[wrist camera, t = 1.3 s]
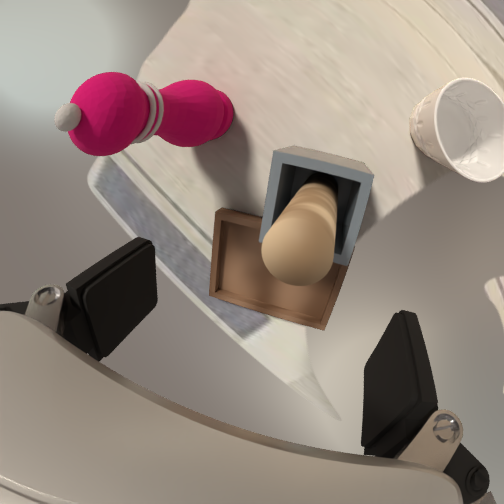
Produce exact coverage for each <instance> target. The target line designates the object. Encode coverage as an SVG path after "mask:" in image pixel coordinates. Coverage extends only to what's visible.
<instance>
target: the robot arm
mask: <svg viewBox="0 0 504 504" xmlns="http://www.w3.org/2000/svg"><path fill="white" fill-rule="evenodd" d="M66 286H67V290H68V291H67V292H66V293H64V290H63V288H62V287H60V286H58V285H54V284H50V285H45V286H42V287H40V288H38V289H37V290H36V291H35V292H34V293H33V294H32V296H31V298H30V301H27V302H18V303H8V304H0V504H496V502H495V500H494V497H493V495H492V493H491V491H490V492H488V493H487V489H488V487H489V474H488V471H487V470H486V468H485V467H484V466H483V465H482V464H481V463H480V462H479V461H478V460H477V459H476V458H475V457H474V456H473V455H472V454H471V453H470V452H469V451H468V450H467V449H466V448H465V447H464V446H463V445H462V444H461V443H460V442H461V440H462V437H463V427H462V423H461V421H460V419H459V418H458V417H457V416H456V415H455V414H454V413H453V412H451V411H449V410H438V406H437V403H438V400H437V395H436V389H435V384H434V380H433V375H432V371H431V366H430V362H429V358H428V354H427V350H426V346H425V342H424V339H423V335H422V332H421V328H420V325H419V322H418V318H417V315H416V314H415V313H412V312H409V311H405V310H401V311H400V312H399V313H395V314H394V315H393V317H392V319H391V321H390V323H389V324H388V326H387V328H386V330H385V332H384V334H383V335H382V337H381V339H380V341H379V343H378V344H377V346H376V348H375V349H374V351H373V353H372V354H371V356H370V358H369V359H368V361H367V363H366V365H365V368H364V400H363V401H364V402H363V422H362V437H361V446H363V447H365V449H364V455H357V454H350V453H343V452H336V451H330V450H326V449H320V448H315V447H309V446H305V445H300V444H296V443H291V442H287V441H283V440H279V439H275V438H272V437H268V436H265V435H261V434H257V433H254V432H251V431H248V430H245V429H241V428H239V427H236V426H233V425H230V424H227V423H224V422H221V421H218V420H215V419H213V418H211V417H208V416H205V415H203V414H200V413H198V412H195V411H193V410H191V409H188V408H186V407H184V406H181V405H179V404H177V403H175V402H172V401H170V400H168V399H166V398H164V397H161V396H159V395H157V394H156V393H153V392H152V391H149V390H148V389H146V388H144V387H142V386H140V385H138V384H136V383H134V382H132V381H131V380H129V379H127V378H125V377H123V376H122V375H120V374H118V373H117V372H115V371H113V370H111V369H110V368H108V367H106V366H105V365H103V364H102V363H100V362H99V361H100V360H101V359H102V358H103V357H107V356H108V355H109V354H110V353H111V352H112V351H113V350H114V349H115V348H116V347H117V346H118V345H119V344H120V343H121V342H122V341H123V340H124V339H125V338H126V336H127V335H128V334H129V333H130V332H131V331H132V330H133V329H134V328H135V327H136V326H137V325H138V324H139V323H140V322H141V321H142V320H143V319H144V318H145V317H146V316H147V315H148V314H149V313H150V312H151V311H152V310H153V308H155V306H156V304H157V299H158V298H157V283H156V263H155V247H154V245H152V242H151V241H150V240H147V239H144V238H141V237H137V238H135V239H133V240H132V241H130V242H128V243H127V244H125V245H124V246H122V247H120V248H119V249H117V250H116V251H114V252H112V253H111V254H109V255H108V256H106V257H105V258H103V259H102V260H100V261H99V262H97V263H96V264H94V265H93V266H91V267H90V268H88V269H87V270H85V271H84V272H82V273H81V274H79V275H78V276H76V277H75V278H73V279H72V280H71V281H69V282H68V283H66ZM87 353H88V354H89V355H87ZM365 455H373V456H365Z"/></svg>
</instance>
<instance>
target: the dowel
mask: <svg viewBox="0 0 504 504" xmlns="http://www.w3.org/2000/svg"><path fill="white" fill-rule="evenodd" d="M337 206H338V185H337V182H336V181H335V179H334V178H333V177H332V176H331V175H329V174H327V173H323V172H318V173H314V174H312V175H311V176H309V177H308V178H307V180H306V181H305V182H304V184H303V185H302V186H301V188H300V189H299V190H298V192H297V193H296V194H295V196H294V197H293V199H292V200H291V201H290V203H289V204H288V205H287V207H286V208H285V209H284V211H283V212H282V213H281V215H280V216H279V217H278V219H277V220H276V221H275V223H274V224H273V225H272V227H271V228H270V229H269V231H268V232H267V233H266V235H265V237H264V239H263V242H262V249H261V250H262V258H263V261H264V264H265V266H266V267H267V269H268V270H269V272H270V273H271V274H272V275H273V276H274V277H276V278H277V279H278V280H280V281H282V282H284V283H286V284H289V285H293V286H307V285H311V284H314V283H316V282H318V281H320V280H321V279H322V278H324V277H325V276H326V274H327V273H328V272H329V270H330V268H331V266H332V263H333V257H334V246H335V235H336V222H337Z"/></svg>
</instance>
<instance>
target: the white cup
mask: <svg viewBox="0 0 504 504" xmlns="http://www.w3.org/2000/svg"><path fill="white" fill-rule="evenodd" d="M409 122H410V134H411V136H412V138H413V140H414V142H415V144H416V146H417V147H418V148H419V149H420V150H421V151H422V152H423V153H424V154H425V155H426V156H428V157H430V158H432V159H433V160H435V161H436V162H438V163H440V164H442V165H443V166H445V167H447V168H449V169H451V170H452V171H454V172H456V173H458V174H460V175H462V176H464V177H465V178H467V179H469V180H472V181H475V182H490V181H493V180H495V179H497V178H499V177H500V176H501V175H502V174H503V173H504V103H503V101H502V100H501V98H500V97H499V96H498V95H497V94H496V93H495V92H494V91H493V90H492V89H491V88H490V87H489V86H487V85H486V84H484V83H482V82H480V81H478V80H475V79H472V78H458V79H455V80H453V81H451V82H449V83H447V84H446V85H444V86H442V87H441V88H439V89H437V90H435V91H434V92H432V93H430V94H429V95H428V96H426V97H425V98H424V99H423V100H422V101H421V102H419V103H418V104H417V105H416V106H414V108H413V111H412V113H411V116H410V118H409Z"/></svg>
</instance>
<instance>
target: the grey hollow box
mask: <svg viewBox="0 0 504 504" xmlns="http://www.w3.org/2000/svg"><path fill="white" fill-rule="evenodd" d="M318 172H323V173H327V174H329V175H331V176H332V177H333V178H334V179H335V181H336V182H337V185H338V206H337V222H336V235H335V246H334V257H333V262H334V263H338V264H341V265H345V266H348V264H349V261H350V258H351V255H352V252H353V249H354V246H355V242H356V239H357V236H358V233H359V229H360V226H361V223H362V219H363V216H364V212H365V209H366V205H367V202H368V198H369V194H370V190H371V186H372V182H373V178H374V174H373V173H372V172H371V171H370V169H369V168H368V167H367V166H366V165H365V163H363V162H360V161H356V160H352V159H349V158H345V157H341V156H337V155H333V154H329V153H325V152H321V151H316V150H312V149H307V148H303V147H298V146H290V147H286V148H282V149H278V150H274V151H273V157H272V163H271V169H270V175H269V182H268V188H267V194H266V200H265V206H264V212H263V218H262V224H261V231H260V237H259V242H261V243H262V242H263V239H264V237H265V235H266V233H267V232H268V231H269V229H270V228H271V227H272V225H273V224H274V223H275V221H276V220H277V219H278V217H279V216H280V215H281V213H282V212H283V211H284V209H285V208H286V207H287V205H288V204H289V203H290V201H291V200H292V199H293V197H294V196H295V194H296V193H297V192H298V190H299V189H300V188H301V186H302V185H303V184H304V182H305V181H306V180H307V178H308V177H309V176H311V175H312V174H314V173H318Z"/></svg>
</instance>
